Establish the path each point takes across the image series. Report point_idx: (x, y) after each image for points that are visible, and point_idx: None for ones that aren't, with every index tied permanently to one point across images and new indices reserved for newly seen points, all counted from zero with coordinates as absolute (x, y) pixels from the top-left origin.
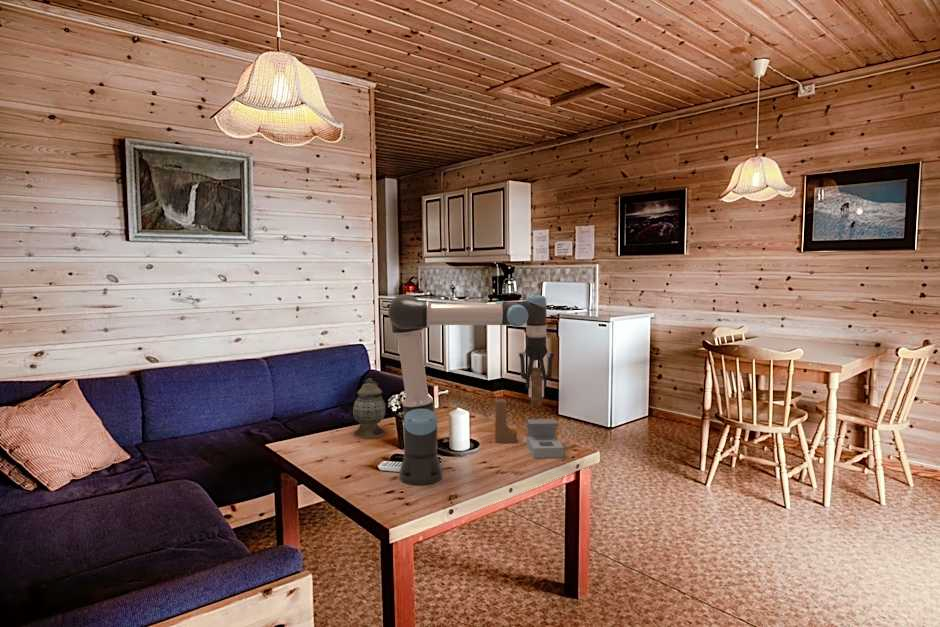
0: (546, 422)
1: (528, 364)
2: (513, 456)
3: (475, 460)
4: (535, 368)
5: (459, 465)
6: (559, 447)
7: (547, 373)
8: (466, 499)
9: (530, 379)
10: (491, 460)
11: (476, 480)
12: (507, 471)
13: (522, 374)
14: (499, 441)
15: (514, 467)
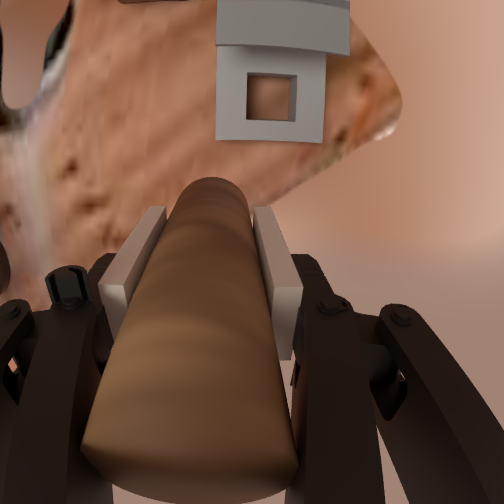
0: (300, 33)
1: (11, 493)
2: (155, 118)
3: (51, 156)
4: (174, 478)
5: (22, 194)
6: (308, 138)
7: (392, 355)
8: None
9: (122, 301)
10: (89, 154)
11: None
12: (129, 234)
13: (17, 398)
14: (131, 1)
15: (148, 207)
